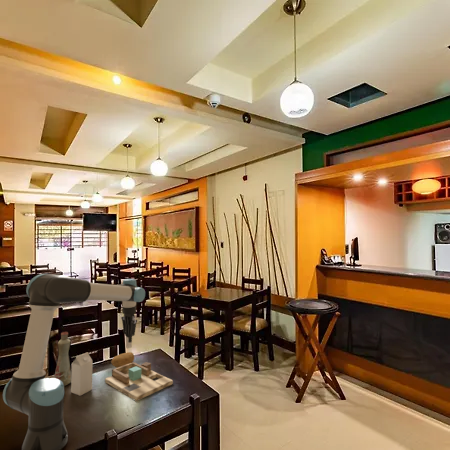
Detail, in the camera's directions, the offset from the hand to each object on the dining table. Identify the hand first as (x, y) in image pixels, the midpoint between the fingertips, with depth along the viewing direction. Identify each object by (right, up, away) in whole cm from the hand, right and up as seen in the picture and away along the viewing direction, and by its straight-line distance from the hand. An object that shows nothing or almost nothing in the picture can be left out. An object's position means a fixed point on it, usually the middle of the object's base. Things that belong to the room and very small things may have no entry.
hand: (128, 347), depth 173 cm
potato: (-8, -18, +14) cm, 24 cm away
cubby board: (+8, -17, -7) cm, 20 cm away
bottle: (-34, -17, -8) cm, 39 cm away
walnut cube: (+9, -15, +4) cm, 18 cm away
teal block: (+5, -15, -5) cm, 17 cm away
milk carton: (-20, -17, -16) cm, 30 cm away
